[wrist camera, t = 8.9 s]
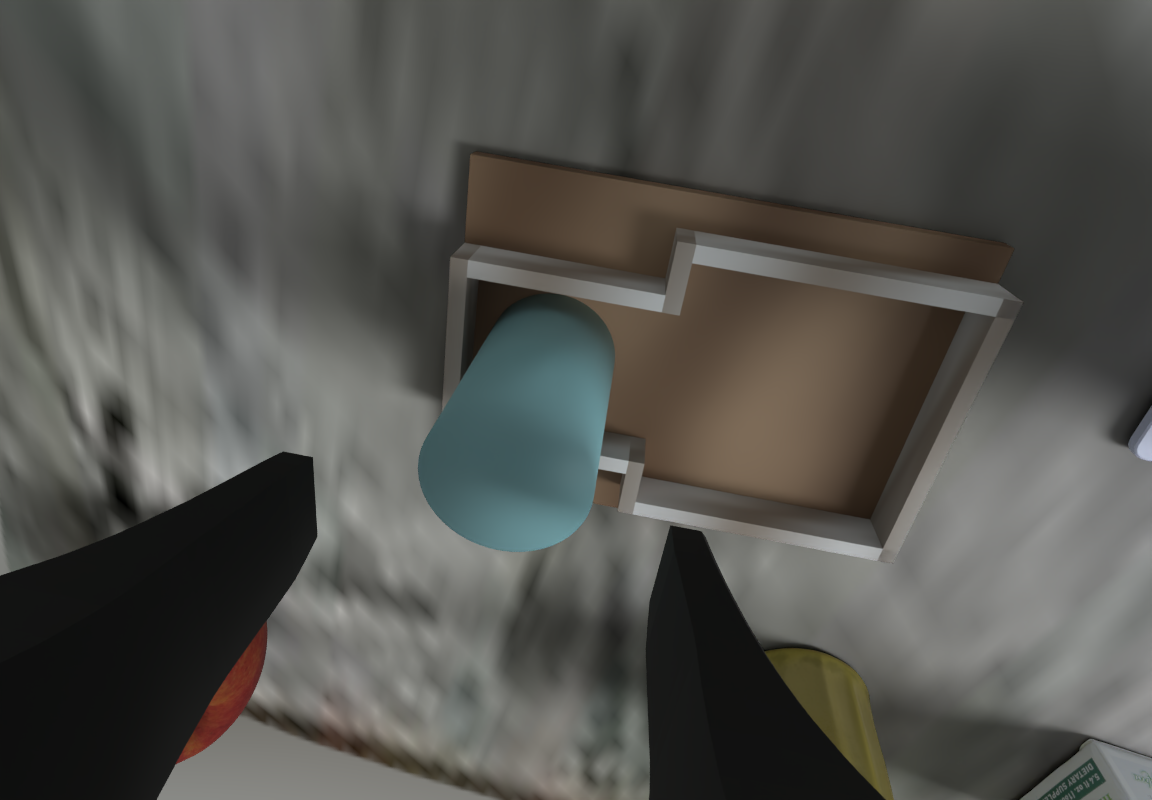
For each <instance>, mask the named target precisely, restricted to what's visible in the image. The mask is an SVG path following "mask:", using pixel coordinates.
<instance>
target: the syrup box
mask: <svg viewBox="0 0 1152 800" xmlns="http://www.w3.org/2000/svg"><path fill="white" fill-rule="evenodd" d="M1020 800H1152V758H1150V757H1147V756H1143V755H1140V754H1137V753H1134V752H1131V751H1128V750H1125V749H1122V748H1119V747H1116V746H1113V745H1110V744H1107V743H1103V742H1100V741H1096V740H1094V739H1089V740H1087V741H1086V742H1085V743H1083V744H1082V745H1081V747H1080V750H1079V752H1078V753H1077V754H1075V755H1074V756H1073V757H1072V758H1070V759H1069V760H1068V761H1067V762H1066V763H1064V764H1063V765H1061V766H1060V767H1059V768H1058V769H1056V770H1055V771H1054V772H1052V773H1051V774H1050V775H1049V776H1048V777H1047V778H1045V779H1044V780H1043V781H1042V782H1041V783H1039V784H1038V785H1037V786H1036V787H1035V788H1033V789H1032V790H1031V791H1030V792H1028V793H1027V794H1026V795H1025V796H1024V797H1022V798H1021V799H1020Z"/></svg>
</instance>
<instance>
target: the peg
mask: <svg viewBox="0 0 1152 800" xmlns="http://www.w3.org/2000/svg"><path fill="white" fill-rule="evenodd" d="M614 363H615V348H614V343H613V339H612V336H611V333H610V331H609V329H608V328H607V326H606V324H605V323H604V321H603V320H602V319H601V318H600V316H599V315H598V314H597V313H596V312H595V311H593V310H592V309H591V308H590V307H588V306H587V305H585V304H584V303H582V302H580V301H578V300H576V299H574V298H571V297H568V296H564V295H560V294H551V293H548V294H537V295H532V296H529V297H525V298H523V299H521V300H519V301H517V302H515V303H514V304H512V305H511V306H510V307H508V308H507V309H506V310H505V311H504V312H503V313H502V314H501V316H500V317H499V319H498V320H497V322H496V323H495V325H494V327H493V328H492V330H491V332H490V333H489V335H488V337H487V338H486V340H485V341H484V343H483V345H482V346H481V348H480V350H479V351H478V353H477V355H476V356H475V358H474V360H473V361H472V363H471V365H470V366H469V368H468V370H467V371H466V373H465V375H464V376H463V378H462V380H461V381H460V383H459V385H458V386H457V388H456V389H455V391H454V393H453V394H452V396H451V398H450V399H449V401H448V403H447V404H446V406H445V408H444V409H443V411H442V413H441V414H440V416H439V418H438V419H437V421H436V423H435V424H434V426H433V428H432V429H431V431H430V433H429V434H428V436H427V437H426V439H425V441H424V443H423V446H422V448H421V451H420V455H419V462H418V474H419V481H420V485H421V488H422V491H423V494H424V496H425V498H426V500H427V502H428V504H429V505H430V507H431V508H432V510H433V511H434V512H435V514H436V515H437V516H438V517H439V518H440V519H441V520H442V521H443V522H444V523H445V524H446V525H447V526H448V527H449V528H451V529H452V530H453V531H455V532H456V533H458V534H459V535H461V536H462V537H464V538H466V539H468V540H470V541H472V542H474V543H477V544H479V545H482V546H485V547H488V548H492V549H496V550H501V551H510V552H525V551H534V550H539V549H543V548H546V547H549V546H552V545H555V544H557V543H559V542H561V541H563V540H564V539H566V538H567V537H569V536H570V535H571V534H572V533H574V532H575V531H576V530H577V529H578V528H579V527H580V526H581V524H582V523H583V522H584V520H585V519H586V517H587V516H588V514H589V511H590V509H591V506H592V503H593V499H594V493H595V487H596V480H597V474H598V467H599V461H600V454H601V448H602V441H603V435H604V428H605V422H606V415H607V409H608V402H609V396H610V389H611V383H612V377H613V370H614Z"/></svg>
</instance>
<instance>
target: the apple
mask: <svg viewBox="0 0 1152 800" xmlns="http://www.w3.org/2000/svg"><path fill="white" fill-rule="evenodd" d="M266 647H267V622H265V623H264V625H263V626H262V628H261V629H260V630H259V632H258V633H257V635H256V636H255V637H254V639H253V640H252V642H251V643H250V644H249V646H248V647H247V649H246V650H245V651H244V653H243V654H242V656H241V657H240V658H239V660H238V661H237V663H236V664H235V665H234V667H233V668H232V670H231V671H230V673H229V674H228V675H227V677H226V678H225V680H224V681H223V683H222V685H221V686H220V688H219V689H218V691H217V692H216V694H215V695H214V697H213V699H212V700H211V702H210V704H209V706H208V707H207V709H206V711H205V713H204V714H203V716H202V718H201V720H200V721H199V723H198V725H197V727H196V728H195V730H194V732H193V734H192V735H191V737H190V739H189V741H188V742H187V744H186V746H185V748H184V750H183V751H182V753H181V755H180V757H179V759H178V761H177V762H176V764H177V763H179V762H182V761H183V760H186V759H188V758H190V757H192V756H194V755H196V754H198V753H199V752H201V751H203V750H204V749H205V748H207V747H208V746H209V745H211V744H212V743H213V742H215V741H216V740H217V739H218V738H219V737H220V736H221V735H222V734H223V733H224V732H225V731H226V730H227V729H228V728H229V727H230V726H231V725H232V724H233V723H234V722H235V720H236V719H237V718H238V716H239V715H240V714H241V712H242V711H243V709H244V708H245V706H246V705H247V703H248V701H249V700H250V698H251V696H252V694H253V692H254V690H255V688H256V685H257V683H258V680H259V678H260V675H261V672H262V669H263V665H264V660H265V654H266Z"/></svg>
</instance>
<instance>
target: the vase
mask: <svg viewBox="0 0 1152 800" xmlns="http://www.w3.org/2000/svg"><path fill="white" fill-rule="evenodd" d="M764 652H765V653H766V655H767V657H768V658H769V660H770V661H771V663H772V664H773V666H774V667H775V669H776V670H777V672H778V673H779V675H780V676H781V678H782V679H783V681H784V682H785V683H786V685H787V686H788V687H789V689H790V690H791V692H792V693H793V694H794V696H795V697H796V699H797V700H798V701H799V703H800V704H801V705H802V706H803V708H804V709H805V710H806V712H807V713H808V714H809V715H810V717H811V718H812V719H813V721H814V722H815V723H816V724H817V725H818V726H819V727H820V729H821V730H822V731H823V732H824V733H825V734H826V736H827V737H828V738H829V739H830V740H831V741H832V743H833V744H834V745H835V746H836V747H837V748H838V750H839V751H840V752H841V753H842V754H843V755H844V757H845V758H846V759H847V760H848V761H849V762H850V763H851V764H852V765H853V766H854V767H855V768H856V770H857V771H858V772H859V773H860V774H861V775H862V776H863V777H864V778H865V779H866V780H867V781H868V782H869V783H870V784H871V785H872V786H873V787H874V788H875V789H876V790H877V791H878V792H879V793H880V794H881V795H882V796H883V797H884V798H885V799H886V800H894V798H893V794H892V790H891V786H890V781H889V777H888V773H887V769H886V765H885V762H884V758H883V754H882V751H881V747H880V744H879V741H878V737H877V733H876V729H875V725H874V721H873V717H872V712H871V706H870V698H869V693H868V690H867V687H866V685H865V683H864V682H863V680H862V679H861V677H860V676H859V675H858V674H857V672H856V671H855V670H854V669H852V668H851V667H850V666H849V665H847V664H845V663H844V662H842V661H841V660H839V659H837V658H835V657H833V656H830V655H828V654H826V653H822V652H819V651H815V650H810V649H801V648H781V649H773V650H768V651H764Z"/></svg>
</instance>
